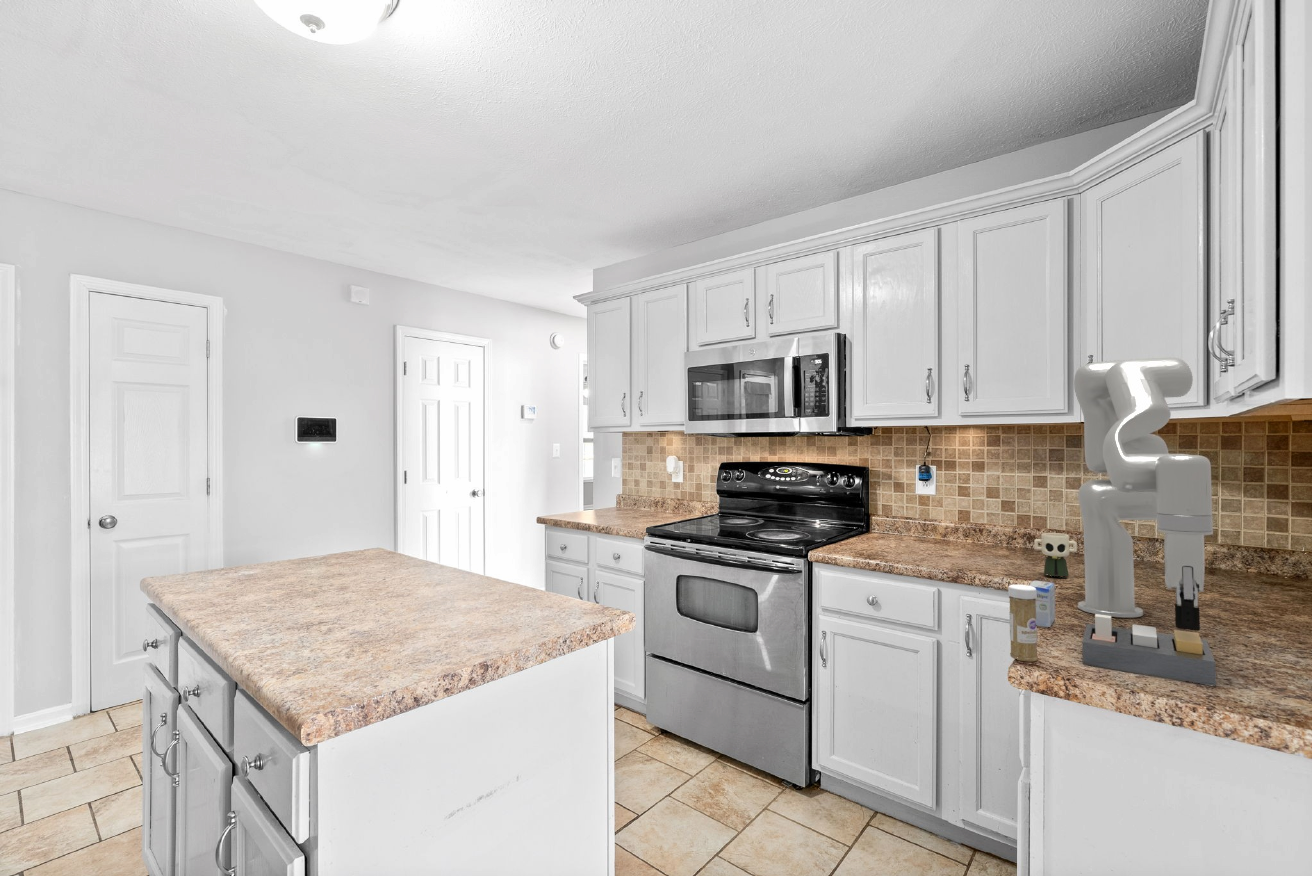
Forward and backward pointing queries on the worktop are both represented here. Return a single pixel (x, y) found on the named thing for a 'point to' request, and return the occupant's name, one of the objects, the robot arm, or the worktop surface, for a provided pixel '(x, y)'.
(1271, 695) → the worktop surface
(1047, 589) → the medicine box
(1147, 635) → the white button
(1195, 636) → the amber button
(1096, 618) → the slider lever
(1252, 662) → the worktop surface
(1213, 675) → the control panel
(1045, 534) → the character mug
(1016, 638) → the sprinkles bottle
